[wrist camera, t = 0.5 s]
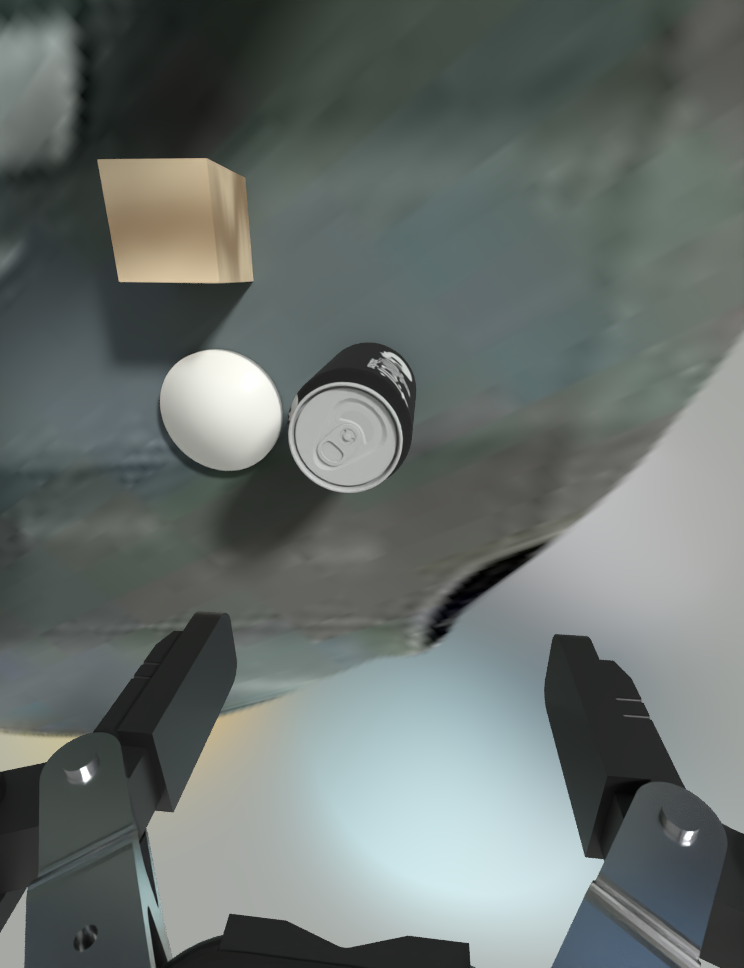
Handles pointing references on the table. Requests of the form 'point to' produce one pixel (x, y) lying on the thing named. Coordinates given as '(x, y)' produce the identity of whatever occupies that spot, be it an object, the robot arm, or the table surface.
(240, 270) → the oak cube
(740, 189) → the table surface
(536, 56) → the table surface
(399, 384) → the beverage can
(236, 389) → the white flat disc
